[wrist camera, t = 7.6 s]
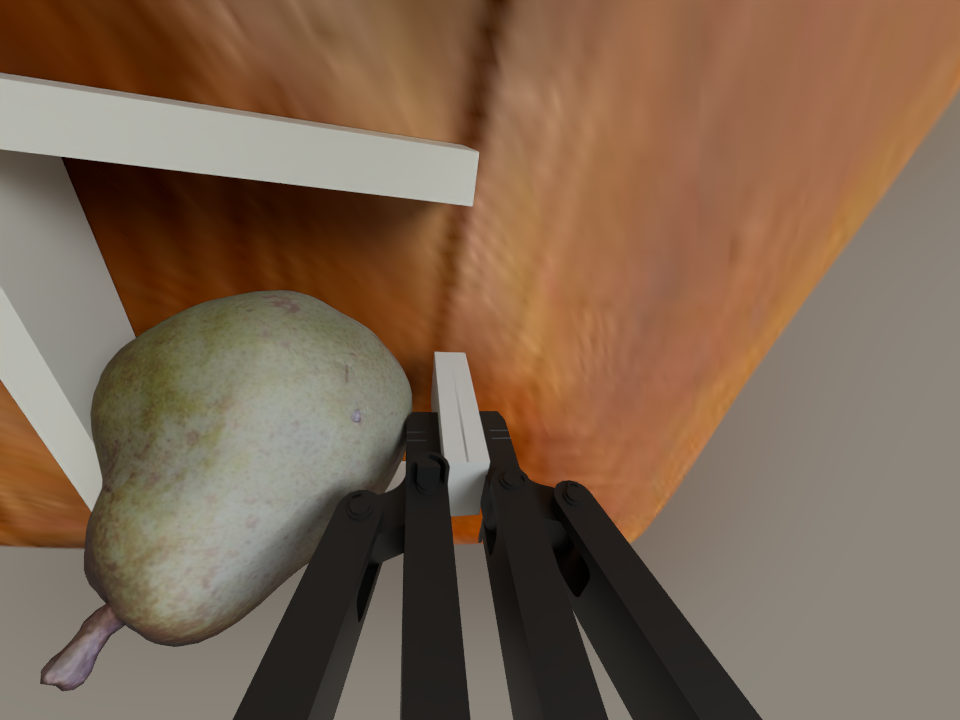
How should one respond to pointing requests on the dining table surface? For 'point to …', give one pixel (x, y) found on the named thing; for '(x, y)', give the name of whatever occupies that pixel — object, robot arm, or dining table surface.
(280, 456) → the fruit
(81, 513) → the dining table surface
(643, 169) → the dining table surface
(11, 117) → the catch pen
